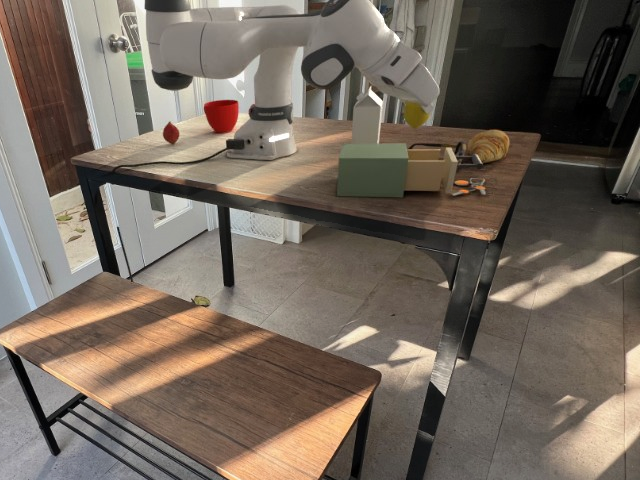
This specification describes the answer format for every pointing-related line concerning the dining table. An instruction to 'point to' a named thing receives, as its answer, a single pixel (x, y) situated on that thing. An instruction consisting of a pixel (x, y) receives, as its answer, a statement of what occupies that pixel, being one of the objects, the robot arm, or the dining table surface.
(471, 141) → the croissant
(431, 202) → the dining table surface
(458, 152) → the sunglasses
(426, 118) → the lemon
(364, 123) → the milk carton
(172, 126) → the onion
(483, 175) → the dining table surface
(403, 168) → the cabinet
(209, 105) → the ceramic cup
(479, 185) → the key chain
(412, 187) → the drawer
